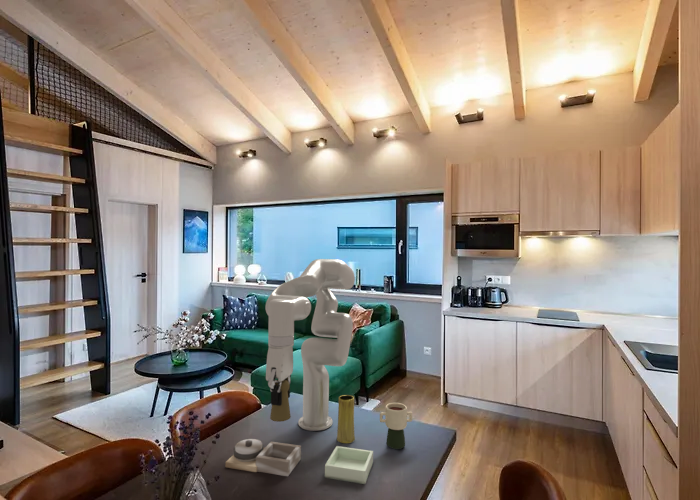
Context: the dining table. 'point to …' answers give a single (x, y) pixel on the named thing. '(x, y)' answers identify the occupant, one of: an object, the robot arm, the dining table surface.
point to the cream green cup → (396, 424)
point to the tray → (349, 464)
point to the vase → (346, 419)
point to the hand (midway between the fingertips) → (280, 400)
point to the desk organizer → (264, 457)
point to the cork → (284, 410)
